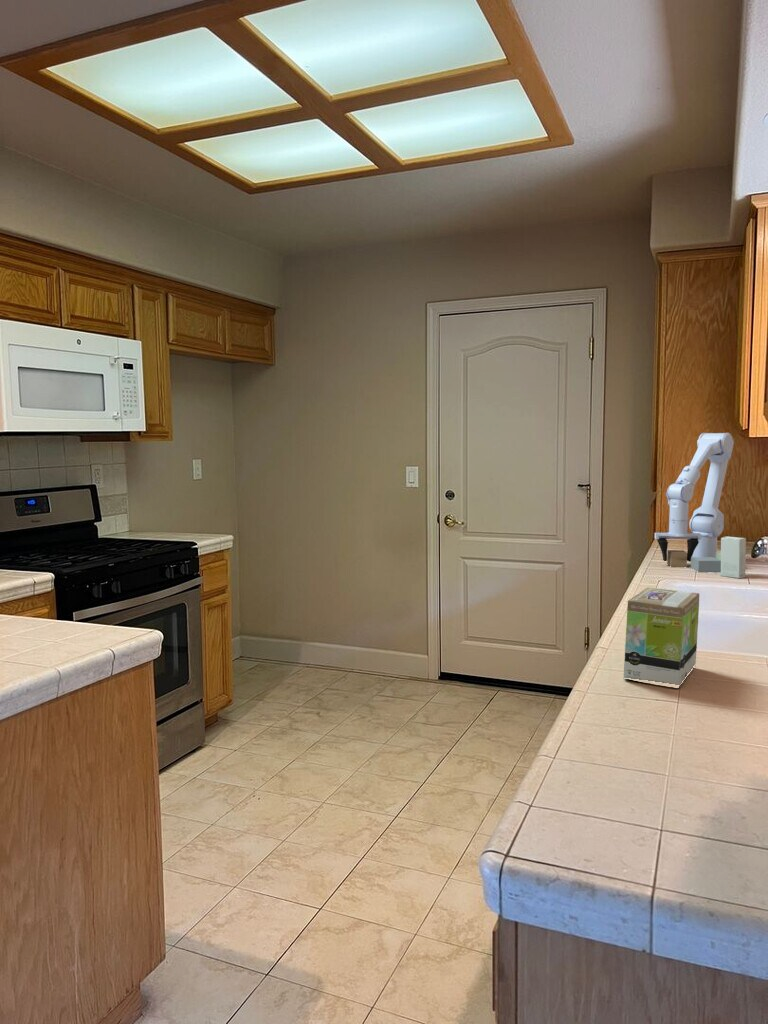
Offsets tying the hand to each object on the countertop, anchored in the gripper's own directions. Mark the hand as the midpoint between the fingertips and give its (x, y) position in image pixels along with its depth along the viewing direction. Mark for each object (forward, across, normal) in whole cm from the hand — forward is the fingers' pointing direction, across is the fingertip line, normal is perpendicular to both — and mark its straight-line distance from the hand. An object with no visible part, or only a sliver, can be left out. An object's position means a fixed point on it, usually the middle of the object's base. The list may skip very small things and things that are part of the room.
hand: (676, 560), depth 251 cm
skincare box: (+2, +12, -18) cm, 21 cm away
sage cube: (+2, +15, -2) cm, 15 cm away
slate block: (+2, +7, -8) cm, 10 cm away
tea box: (+2, -33, -118) cm, 122 cm away
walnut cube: (+2, 0, 0) cm, 2 cm away
